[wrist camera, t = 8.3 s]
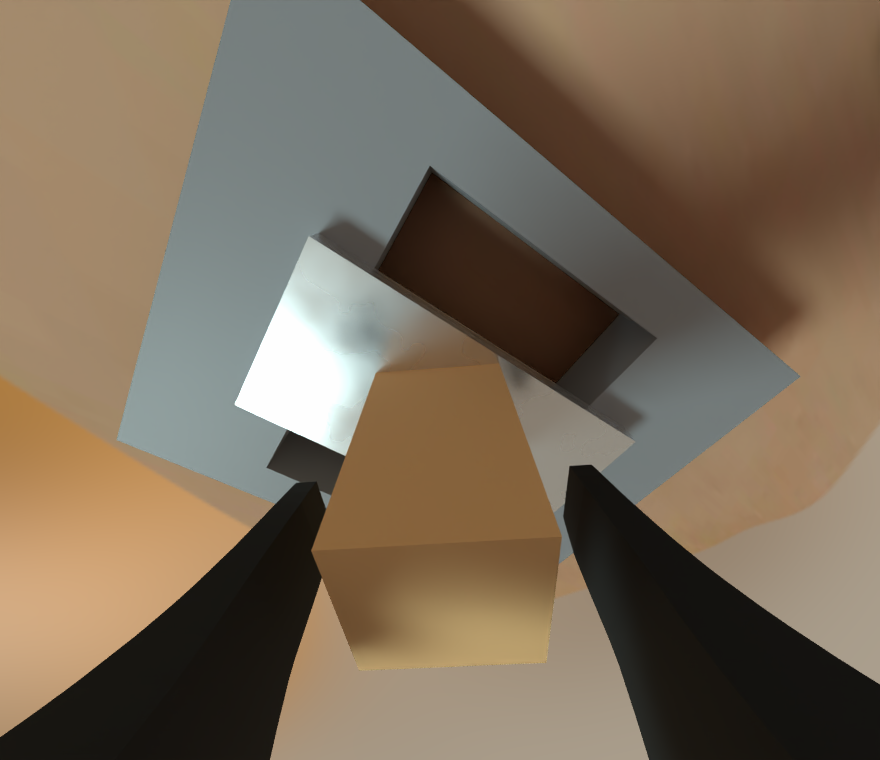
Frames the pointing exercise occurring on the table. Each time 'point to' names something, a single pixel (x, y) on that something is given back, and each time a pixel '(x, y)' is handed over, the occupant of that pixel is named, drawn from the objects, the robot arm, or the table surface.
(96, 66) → the table surface
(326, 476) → the grey square frame
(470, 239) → the table surface
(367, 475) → the tan rectangular block
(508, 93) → the table surface
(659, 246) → the table surface
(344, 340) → the silver rectangular plate
